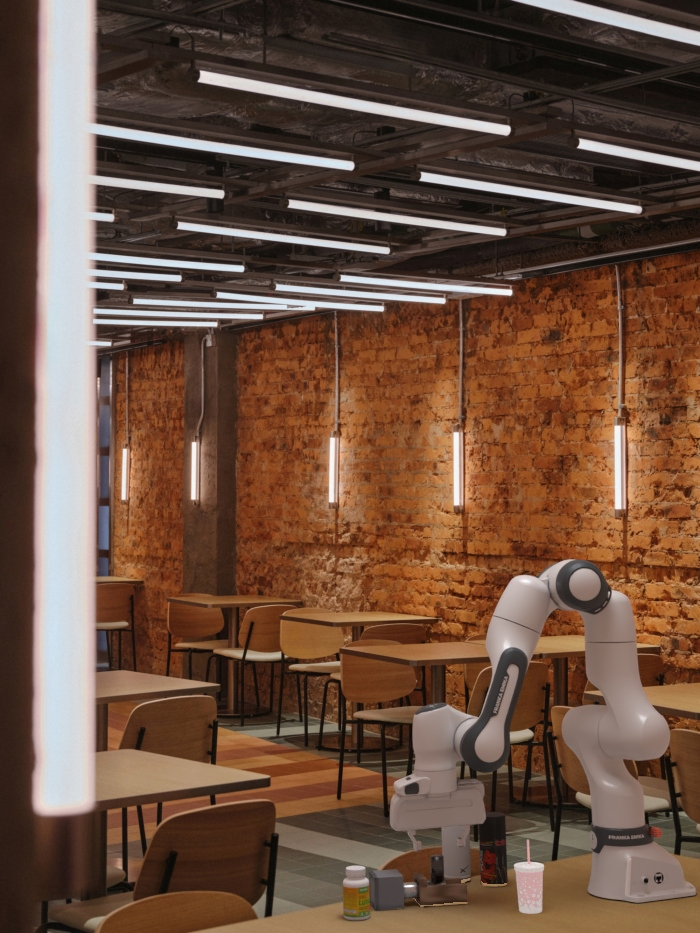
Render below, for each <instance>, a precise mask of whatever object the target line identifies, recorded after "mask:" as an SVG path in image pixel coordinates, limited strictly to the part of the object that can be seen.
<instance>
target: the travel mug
mask: <svg viewBox="0 0 700 933" xmlns="http://www.w3.org/2000/svg"><path fill="white" fill-rule="evenodd" d="M440 828H441V855H443V856H444V878H461V880H463V879H468V878H471V879H472V875H471V866H472V865H471V844H470V842H471V841H470V840H471V839H470V838H471V837H470V832H469V833H468V835H467V837H466V839H465V841H466V847H458V846H457V842H458V841H457V837H461V834H462V832H463V829H462V828H461V826H452V827H440Z"/></svg>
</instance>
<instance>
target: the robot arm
mask: <svg viewBox="0 0 700 933" xmlns="http://www.w3.org/2000/svg"><path fill="white" fill-rule="evenodd" d="M555 610H557V611H567V612H578V614H579V615H580V617H581V620H582V622H583V626H584V653H585V656H584V657H585V674H586V678H587V680H588V681H589V682H590V684H592V685H593V686H594V687H595V688H597V690H599V691H600V693H601V695H602V696H603V699H604V702H605V705H603V704H602V705H601V704H592V703H591V704H586V705H580V706H576V707H575V706H574V707H572V708H569V710H567V712H566V713H565V714H564V717H563V719H562V722H561V735H562V736H561V737H562V739H563V741H564V743H565V745H566V746H567V747H568V748H569V749H570V750H571V751H572V752H573V753H574V754H575V757H577V759H578V760H579V762H580V765H581V767H582V768H583V771H584V773H585V776H586V779H587V783H588V786H589V792H590V795H589V796H590V805H591V821H592V822H591V823H590V834H589V836H590V837H589V839H590V846H591V847H590V848H591V850H592V856H591V857H592V859H591V870H590V875H589V882H588V885H587V886H588V887H587V890H586V891H587V892H588V893H589V894H591V896H595V897H599V898H603V899H608V900H619V901H626V902H629V903H638V904H639V903H645V902H646V903H647V902H654V901H661V900H669V899H670V900H671V899H676V898H677V899H678V898H685V897H691V896H693V897H694V896H696V895H697V889H696V887H695V886H694V885H693V884H692V883H691V882H689V881H687V880H686V879H685V874H684V870H683V866H682V865H681V863H680V861H679V860H678V859H677V858H676V857H675V856H673V855H672V854H671V853H670V852H669V851H667V850H666V849H665V848H664V847H662V846H661V845H659V844H658V843H657V842H656V841H654V840H655V838H656V839H660V838H662V836H663V830H662V829H661V828H659V827H656V826H651V825H649V824H647V823H646V818H645V817H646V815H645V798H644V796H645V794H644V788H643V786H642V785H641V784H642V783H640V782H639V780H638V779H636V778H635V777H634V776H632V774H631V773H630V772H629V770H628V769H627V766H626V764H625V762H624V760H628V761H629V760H630V761H637V762H639V761H650V760H656V759H659V758H661V757H662V756H663V755H664V754H665V753H666V751H667V749H668V748H669V746H670V743H671V742H670V740H671V731H670V726H669V724H668V721H667V720H666V719H665V717H664V716H663V715H662V714H661V713H659V711H657V710H656V708H654V706H653V705H652V703H651V702H650V699H649V698H648V695H647V694H646V692H645V690H644V687H643V684H642V682H641V681H642V680H641V676H640V670H639V660H638V659H639V658H638V646H637V644H638V642H637V629H636V623H635V617H634V610H633V607H632V604H631V600H630V598H629V597H628V596H627V595H626V594H625V593H623V592H621V591H618V590H615V589H612V588H611V586H610V585H609V583H608V582H607V580H606V577H605V575H604V573H603V572H602V570H600V568H599V567H598V566H597V565H596V564H594V563H593V562H591V561H589V560H586V559H575V558H574V559H572V558H570V559H564V560H562V561H559V562H554V563H552V564H550V565H549V566H546V568H545V569H544V570H543V571H541V572H540V573H539V574H538V575H536V576H534V575H529V574H521V575H520V574H519V575H516V576H514V577H513V578H512V579H511V580H510V581H509V582H508V584H507V585H506V587H505V589H504V591H503V593H502V595H501V596H500V598H499V600H498V602H497V604H496V606H495V609H494V612H493V613H492V617H491V619H490V622H489V625H488V628H487V633H486V638H485V644H484V646H485V650H486V653H487V655H488V658H489V661H490V664H491V670H492V671H491V672H492V673H491V680H490V684H489V687H488V690H487V693H486V696H485V699H484V703H483V706H482V709H481V713H480V715H479V717H478V716H475V715H472V714H468V713H465V712H463V711H460V710H459V709H456V708H454V707H453V706H451V705H449V703H447V702H437V703H436V702H435V703H429V704H427V705H423V706H422V707H420V708H418V709H417V710H416V711H415V713H414V715H413V719H412V750H413V752H414V757H415V762H414V764H413V771H414V773H411V774H410V775H406V776H404V777H402V778H400V779H398V780H395V781H394V782H393V789H394V791H395V793H394V794H393V795H392V797H391V800H390V806H389V807H390V808H389V825H390V827H391V828H392V829H393V830H394V831H395V832H403V831H406V832H407V835H408V837H409V838H410V840H411V842H412V845H413V847H412V848H413V851H414V852H415V853H416V852H421V851H423V848H422V846H423V845H422V844H423V843H422V842H421V840H416V838H415V836H416V833H417V832H416V830H427V829H439V828H441V827H452V826H461V828H462V829H463V832H462V834H461V837H457V841H458V842H457V846H458V847H466V841H465V839H466V837H467V835H468V833H469V834H470V831H471V826H472V825H473V826H474V825H479V824H483V823H484V821H485V820H486V813H485V812H486V807H485V803H484V802H485V801H484V797H485V785H484V783H483V782H482V781H481V780H478V778H470V779H458V778H457V765H456V764H457V763H458V762H465V763H466V765H467V766H468V767H469V768H470V769H471V770H473V771H475V772H477V773H481V774H488V773H493V772H495V771H498V770H499V769H500V768H502V767H503V766H504V765H505V764H506V762H507V760H508V759H509V757H510V752H511V723H512V720H513V717H514V713H515V711H516V707H517V704H518V700H519V697H520V694H521V691H522V687H523V685H524V681H525V676H526V674H527V672H528V669H529V666H530V663H531V661H532V660H531V659H532V658H533V656H534V653H535V650H536V648H537V646H538V643H539V641H540V637H541V635H542V632H543V630H544V627H545V623H546V621H547V619H548V617H549V616H550V615H551V614H552V612H553V611H555Z"/></svg>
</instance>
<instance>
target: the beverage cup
mask: <svg viewBox="0 0 700 933" xmlns="http://www.w3.org/2000/svg"><path fill="white" fill-rule="evenodd" d="M526 849H527V850H526V851H527V852H526V853H527V861H521V862H520V861H519V862H516V863H514V864H513V869H514V871H515V880H516V882H515V883H516V889H517V902H518V911H519V912H520V913H523V914H528V915H530V914H531V915H532V914H535V915H536V914H540V913H542V912H543V891H544V890H543V886H544V885H543V884H544V882H543V881H544V880H543V878H544V876H543V875H544V870H545V865H544V863H541V862H536V861H531V857H530V856H531V855H530V854H531V852H530V839H526Z"/></svg>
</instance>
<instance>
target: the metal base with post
mask: <svg viewBox="0 0 700 933" xmlns="http://www.w3.org/2000/svg"><path fill="white" fill-rule="evenodd" d="M429 857H430V858H429V862H430V864H429V865H430V867H429V868H430V879H431V881H427V886H431V885H446V882H445V880H444V856H443V855H442V854H431V855H430V856H429ZM403 886H404V900H406V899H407V900H409V899H414V898H419V882H414V881H410V882H403Z"/></svg>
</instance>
